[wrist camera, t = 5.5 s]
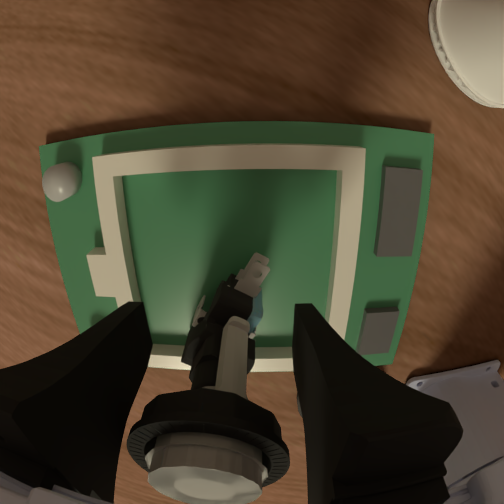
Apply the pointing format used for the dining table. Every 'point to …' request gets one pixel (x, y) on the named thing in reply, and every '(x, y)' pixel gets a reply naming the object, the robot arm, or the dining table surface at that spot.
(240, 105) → the dining table surface
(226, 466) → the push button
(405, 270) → the circuit board
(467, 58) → the cooling tower
